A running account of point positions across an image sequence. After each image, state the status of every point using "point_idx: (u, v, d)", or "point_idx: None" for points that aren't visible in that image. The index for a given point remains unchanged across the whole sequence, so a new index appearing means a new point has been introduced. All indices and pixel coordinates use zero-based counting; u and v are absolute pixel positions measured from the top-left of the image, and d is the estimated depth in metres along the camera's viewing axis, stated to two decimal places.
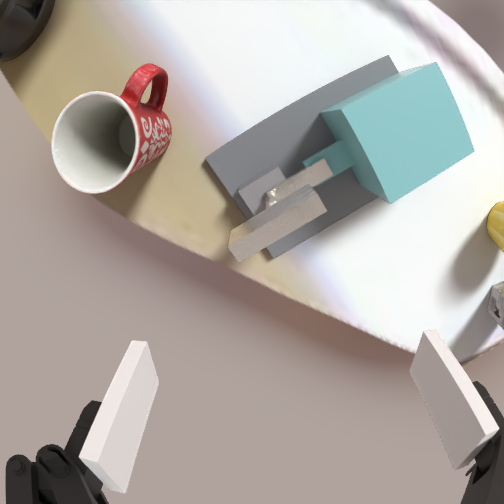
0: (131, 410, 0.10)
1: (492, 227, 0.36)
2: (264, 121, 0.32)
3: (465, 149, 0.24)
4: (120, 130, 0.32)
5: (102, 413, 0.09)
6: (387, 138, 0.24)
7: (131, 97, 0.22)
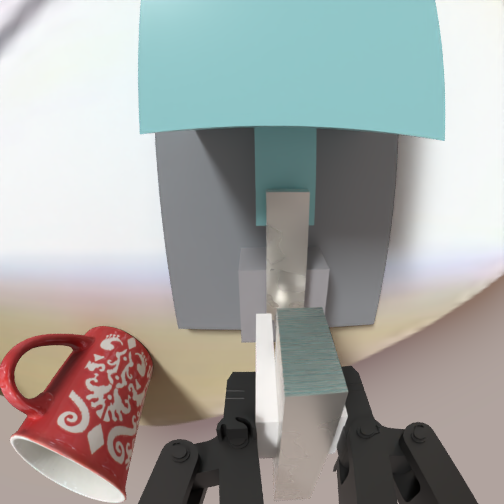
0: None
1: None
2: (165, 227, 0.19)
3: None
4: None
5: (261, 378, 0.11)
6: (278, 43, 0.07)
7: (29, 413, 0.13)
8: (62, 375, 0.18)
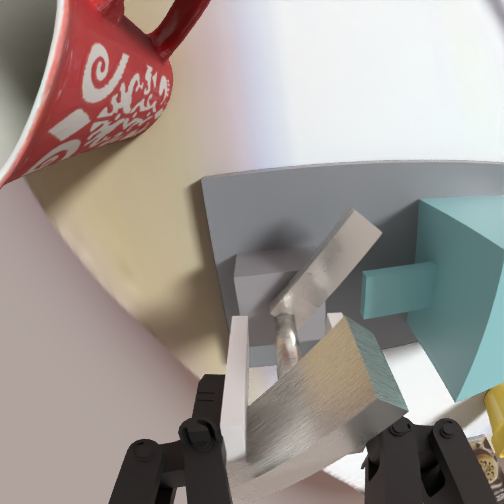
0: (246, 378, 0.12)
1: (494, 397, 0.26)
2: (333, 168, 0.18)
3: None
4: None
5: (230, 381, 0.11)
6: None
7: None
8: (133, 29, 0.10)
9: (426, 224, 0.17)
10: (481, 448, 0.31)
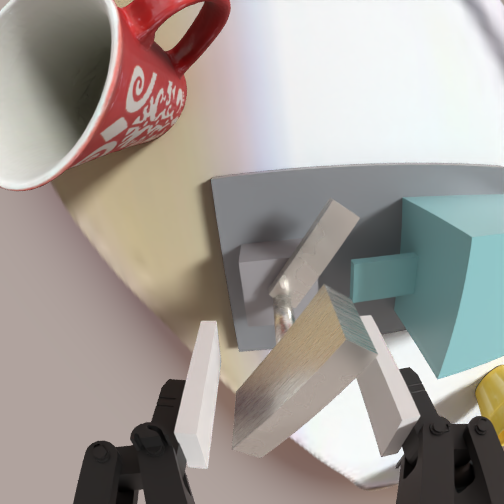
0: (210, 385, 0.12)
1: (485, 390, 0.29)
2: (325, 170, 0.20)
3: None
4: None
5: (189, 388, 0.10)
6: (489, 300, 0.14)
7: (140, 17, 0.08)
8: (158, 50, 0.13)
9: (408, 219, 0.20)
10: None
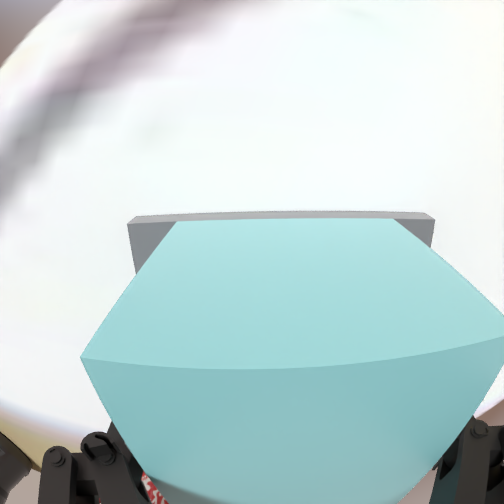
0: None
1: None
2: None
3: (484, 373, 0.05)
4: None
5: None
6: None
7: None
8: None
9: None
10: None
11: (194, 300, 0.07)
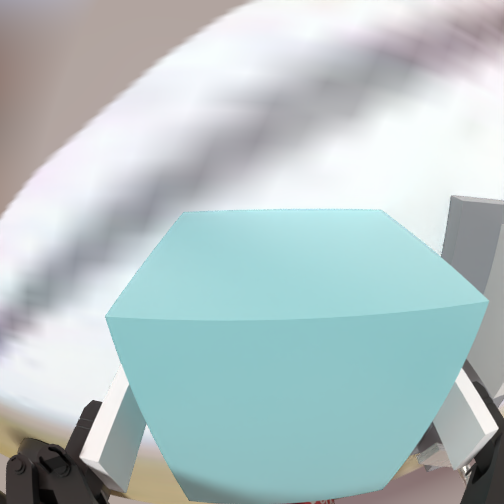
0: (132, 410, 0.10)
1: None
2: None
3: (459, 339, 0.07)
4: None
5: (103, 413, 0.09)
6: (276, 487, 0.10)
7: None
8: None
9: None
10: None
11: (202, 272, 0.09)
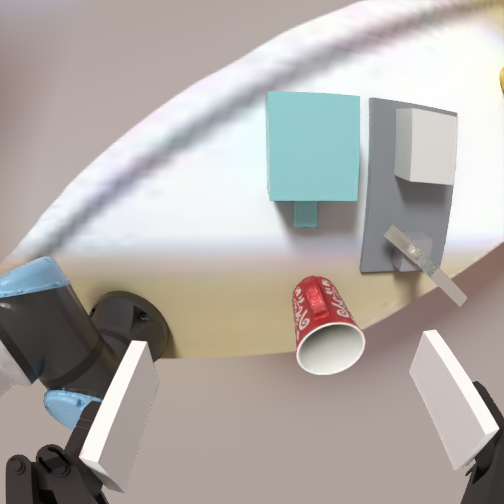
0: (131, 410, 0.10)
1: None
2: (368, 222, 0.42)
3: (353, 105, 0.29)
4: None
5: (102, 413, 0.09)
6: (309, 177, 0.32)
7: (323, 313, 0.36)
8: None
9: None
10: None
11: None
